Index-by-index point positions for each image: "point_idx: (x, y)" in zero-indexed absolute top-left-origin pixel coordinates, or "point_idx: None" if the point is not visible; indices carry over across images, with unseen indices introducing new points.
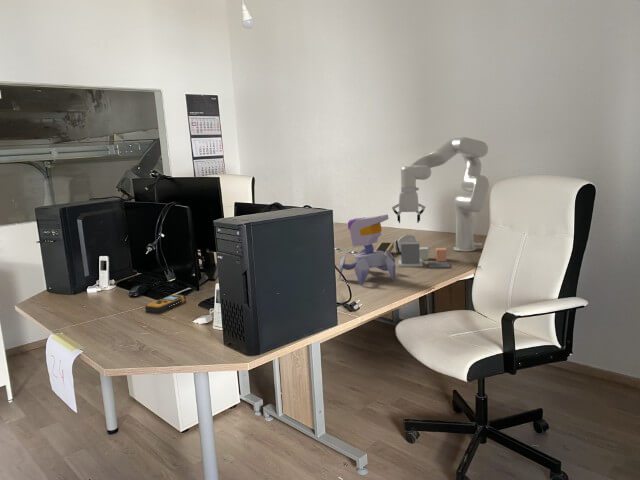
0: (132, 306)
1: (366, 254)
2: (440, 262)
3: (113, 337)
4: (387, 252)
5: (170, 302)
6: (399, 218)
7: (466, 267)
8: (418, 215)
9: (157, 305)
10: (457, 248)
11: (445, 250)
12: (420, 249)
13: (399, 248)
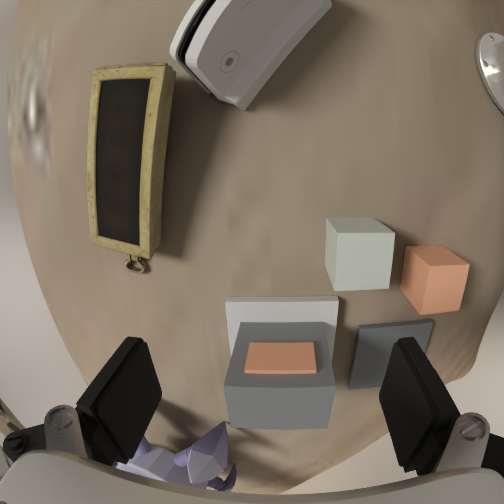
0: (3, 423)
1: None
2: (404, 335)
3: None
4: (197, 478)
5: None
6: (136, 435)
7: (456, 364)
8: (414, 468)
9: None
10: (496, 85)
11: (454, 309)
12: (345, 290)
13: (212, 90)
